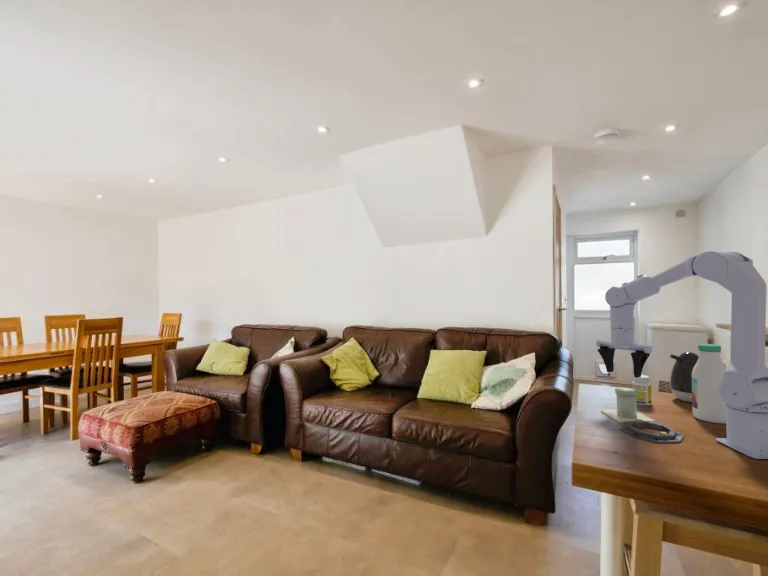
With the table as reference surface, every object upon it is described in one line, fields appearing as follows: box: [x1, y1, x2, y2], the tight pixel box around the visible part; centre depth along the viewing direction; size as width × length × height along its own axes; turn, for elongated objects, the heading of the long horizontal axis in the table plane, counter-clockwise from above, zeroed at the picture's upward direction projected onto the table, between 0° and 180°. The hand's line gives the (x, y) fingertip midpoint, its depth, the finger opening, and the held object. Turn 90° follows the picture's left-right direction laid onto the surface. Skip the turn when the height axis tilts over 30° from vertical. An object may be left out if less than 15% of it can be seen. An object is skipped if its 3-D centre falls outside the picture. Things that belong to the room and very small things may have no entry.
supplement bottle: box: [631, 374, 653, 406], centre depth 112 cm, size 5×5×8 cm
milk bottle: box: [691, 343, 727, 424], centre depth 98 cm, size 8×8×20 cm
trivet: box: [600, 409, 656, 424], centre depth 100 cm, size 9×9×1 cm
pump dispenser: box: [669, 351, 699, 404], centre depth 113 cm, size 10×10×15 cm
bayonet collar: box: [619, 419, 685, 444], centre depth 89 cm, size 12×12×2 cm
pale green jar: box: [614, 387, 638, 418], centre depth 100 cm, size 6×5×7 cm
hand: (623, 374), depth 106 cm, fingers open, 7 cm apart
